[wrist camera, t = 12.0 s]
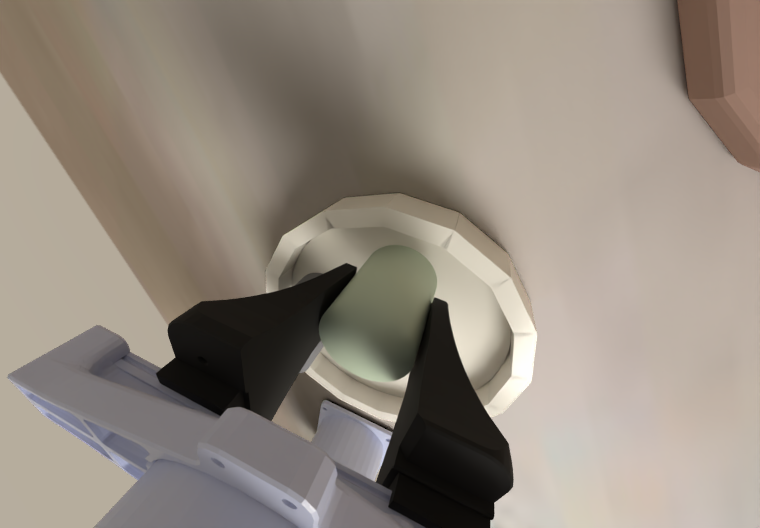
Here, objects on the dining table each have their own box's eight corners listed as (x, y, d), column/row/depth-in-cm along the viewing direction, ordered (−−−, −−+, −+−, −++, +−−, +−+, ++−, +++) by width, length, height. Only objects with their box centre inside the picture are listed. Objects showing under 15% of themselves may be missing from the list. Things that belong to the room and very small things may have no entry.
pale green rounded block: (423, 318, 15) (399, 395, 11) (359, 292, 16) (315, 356, 12) (448, 261, 13) (429, 331, 9) (372, 233, 14) (323, 287, 10)
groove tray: (464, 427, 23) (461, 458, 21) (286, 344, 26) (268, 365, 24) (597, 258, 13) (617, 285, 11) (290, 157, 16) (261, 164, 14)
